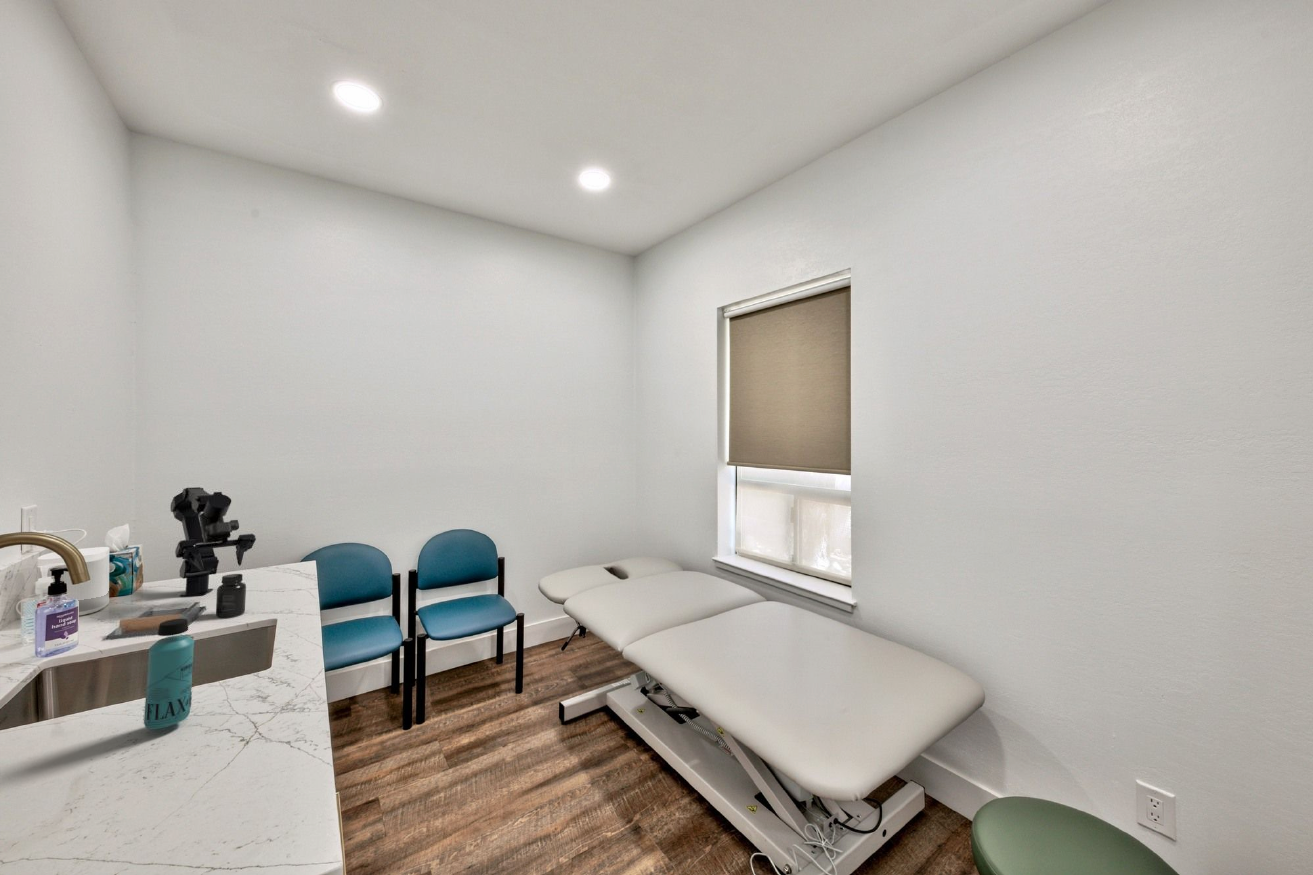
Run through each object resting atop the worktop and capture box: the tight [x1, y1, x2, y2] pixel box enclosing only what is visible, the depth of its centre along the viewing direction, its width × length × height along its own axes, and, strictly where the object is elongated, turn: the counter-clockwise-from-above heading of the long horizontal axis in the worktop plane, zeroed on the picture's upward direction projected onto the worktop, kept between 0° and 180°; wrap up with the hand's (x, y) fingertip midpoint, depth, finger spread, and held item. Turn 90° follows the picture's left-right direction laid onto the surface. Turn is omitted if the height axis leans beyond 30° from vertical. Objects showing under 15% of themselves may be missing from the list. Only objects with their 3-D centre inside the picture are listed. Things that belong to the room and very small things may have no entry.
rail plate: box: [106, 601, 207, 640], centre depth 142 cm, size 20×15×4 cm
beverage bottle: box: [142, 619, 195, 730], centre depth 94 cm, size 6×7×20 cm
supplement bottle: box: [215, 573, 247, 619], centre depth 151 cm, size 7×7×12 cm
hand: (221, 567), depth 155 cm, fingers open, 9 cm apart
